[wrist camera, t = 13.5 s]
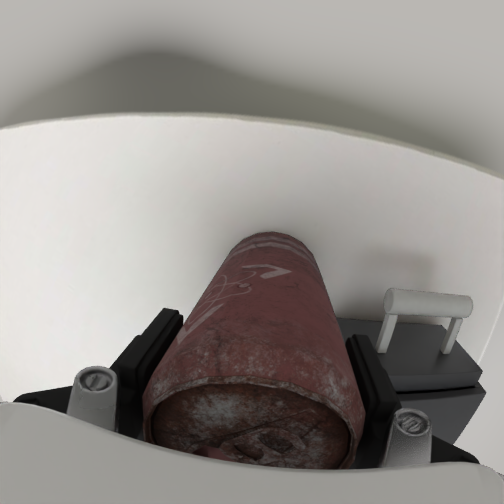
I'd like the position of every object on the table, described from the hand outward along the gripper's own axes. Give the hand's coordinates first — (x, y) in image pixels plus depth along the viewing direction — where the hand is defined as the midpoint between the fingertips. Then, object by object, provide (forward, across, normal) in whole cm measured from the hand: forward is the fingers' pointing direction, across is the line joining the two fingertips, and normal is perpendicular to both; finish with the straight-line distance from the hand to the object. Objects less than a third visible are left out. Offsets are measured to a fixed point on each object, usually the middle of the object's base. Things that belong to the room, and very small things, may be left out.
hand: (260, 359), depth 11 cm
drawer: (+10, -10, +6) cm, 15 cm away
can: (+9, 0, 0) cm, 9 cm away
